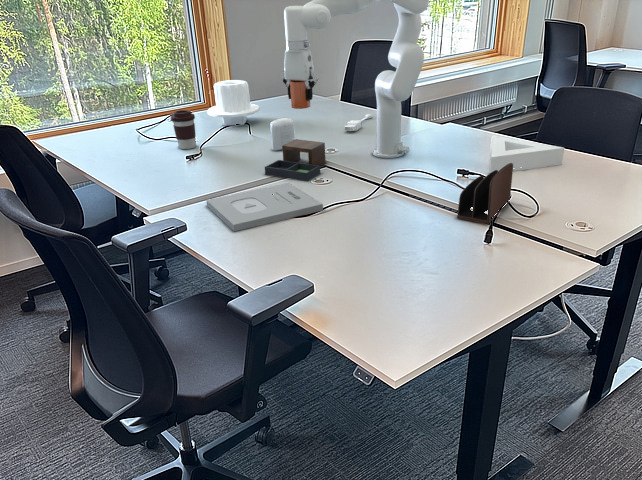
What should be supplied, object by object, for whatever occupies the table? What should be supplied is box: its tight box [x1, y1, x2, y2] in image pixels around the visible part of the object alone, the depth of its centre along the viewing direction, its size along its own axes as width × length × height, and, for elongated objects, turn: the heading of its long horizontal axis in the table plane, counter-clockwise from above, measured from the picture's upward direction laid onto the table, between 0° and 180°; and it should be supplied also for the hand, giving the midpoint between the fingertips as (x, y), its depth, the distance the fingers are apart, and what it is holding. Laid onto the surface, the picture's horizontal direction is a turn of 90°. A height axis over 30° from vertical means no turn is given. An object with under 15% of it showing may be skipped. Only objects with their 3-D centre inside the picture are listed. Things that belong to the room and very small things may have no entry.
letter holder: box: [456, 163, 514, 225], centre depth 177 cm, size 10×20×14 cm, turn 148°
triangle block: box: [489, 134, 565, 174], centre depth 216 cm, size 30×26×6 cm
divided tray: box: [264, 159, 321, 182], centre depth 216 cm, size 18×10×3 cm, turn 61°
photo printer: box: [269, 117, 296, 151], centre depth 243 cm, size 10×4×12 cm, turn 123°
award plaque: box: [205, 182, 324, 232], centre depth 187 cm, size 25×30×2 cm
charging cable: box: [343, 113, 372, 132], centre depth 276 cm, size 5×32×3 cm, turn 160°
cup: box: [290, 81, 311, 110], centre depth 209 cm, size 7×7×9 cm
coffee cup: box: [170, 109, 197, 150], centre depth 248 cm, size 10×10×15 cm
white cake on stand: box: [207, 79, 261, 127], centre depth 283 cm, size 25×25×19 cm
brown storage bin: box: [281, 138, 326, 167], centre depth 224 cm, size 13×10×8 cm
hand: (300, 98), depth 210 cm, fingers closed on cup, 6 cm apart
